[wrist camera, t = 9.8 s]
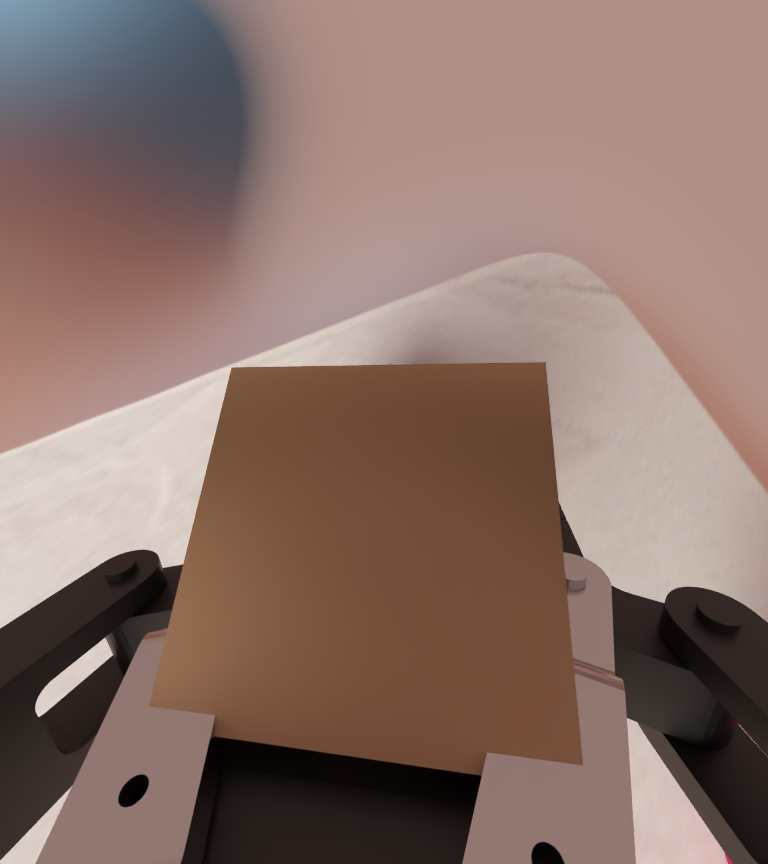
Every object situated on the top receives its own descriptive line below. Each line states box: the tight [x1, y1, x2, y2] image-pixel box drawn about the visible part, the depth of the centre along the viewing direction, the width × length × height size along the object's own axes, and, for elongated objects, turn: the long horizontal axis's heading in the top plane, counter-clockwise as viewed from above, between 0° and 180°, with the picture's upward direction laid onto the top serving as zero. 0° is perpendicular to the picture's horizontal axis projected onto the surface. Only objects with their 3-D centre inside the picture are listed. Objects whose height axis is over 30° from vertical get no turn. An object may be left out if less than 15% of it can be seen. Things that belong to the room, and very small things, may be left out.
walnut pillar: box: [149, 362, 583, 776], centre depth 10 cm, size 4×4×12 cm
